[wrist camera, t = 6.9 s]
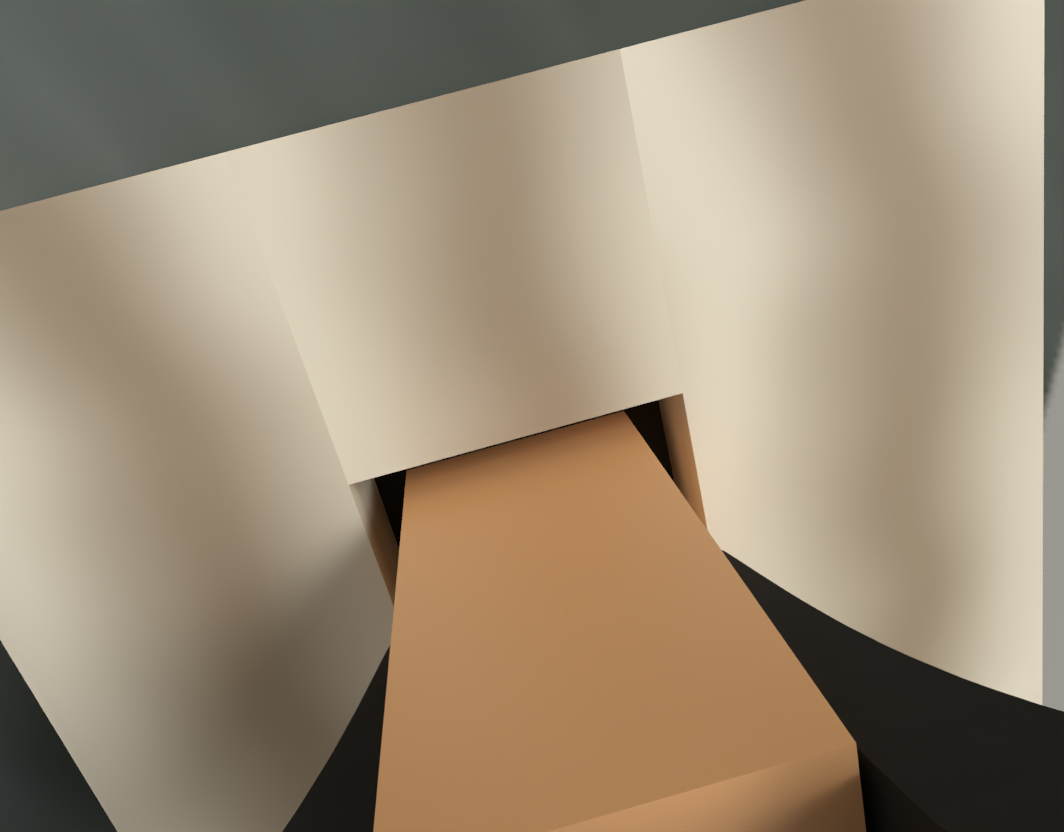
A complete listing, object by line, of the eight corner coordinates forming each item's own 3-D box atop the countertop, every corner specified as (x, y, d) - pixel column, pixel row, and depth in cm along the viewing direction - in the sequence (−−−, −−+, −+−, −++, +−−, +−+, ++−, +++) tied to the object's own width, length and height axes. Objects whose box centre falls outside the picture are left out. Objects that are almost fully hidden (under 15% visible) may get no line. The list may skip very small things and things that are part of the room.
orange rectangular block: (467, 650, 15) (497, 1165, 7) (406, 470, 13) (369, 883, 6) (663, 594, 15) (891, 1048, 7) (623, 410, 13) (856, 742, 6)
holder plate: (249, 921, 18) (228, 1012, 16) (-123, 250, 12) (-226, 269, 10) (979, 710, 18) (1042, 775, 16) (953, -32, 12) (1044, -62, 11)
